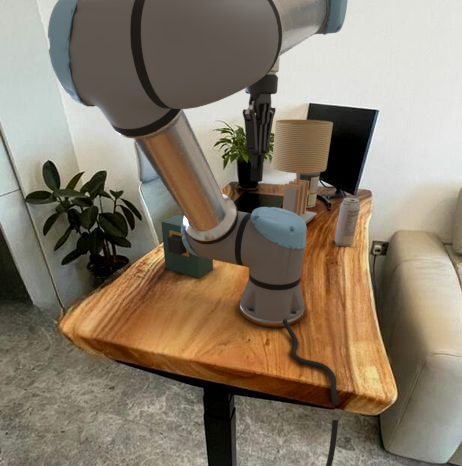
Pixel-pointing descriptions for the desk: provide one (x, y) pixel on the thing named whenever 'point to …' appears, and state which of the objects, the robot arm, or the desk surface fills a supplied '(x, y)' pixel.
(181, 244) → the button
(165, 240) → the teal green box
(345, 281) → the desk surface
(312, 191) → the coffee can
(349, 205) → the energy drink can
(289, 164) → the desk lamp
